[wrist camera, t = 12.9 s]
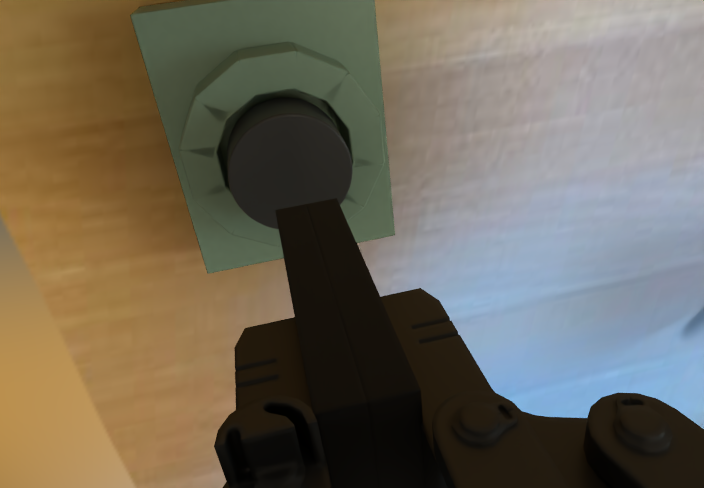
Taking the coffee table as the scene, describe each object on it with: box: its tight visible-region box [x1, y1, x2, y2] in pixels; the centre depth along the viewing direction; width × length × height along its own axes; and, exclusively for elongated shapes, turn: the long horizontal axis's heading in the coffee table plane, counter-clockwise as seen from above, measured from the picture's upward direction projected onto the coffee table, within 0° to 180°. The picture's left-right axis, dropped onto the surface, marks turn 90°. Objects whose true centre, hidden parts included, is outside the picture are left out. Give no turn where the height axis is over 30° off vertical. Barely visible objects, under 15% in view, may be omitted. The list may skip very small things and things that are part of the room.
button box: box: [130, 0, 395, 273], centre depth 21 cm, size 10×8×4 cm
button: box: [227, 97, 353, 229], centre depth 18 cm, size 4×4×2 cm
